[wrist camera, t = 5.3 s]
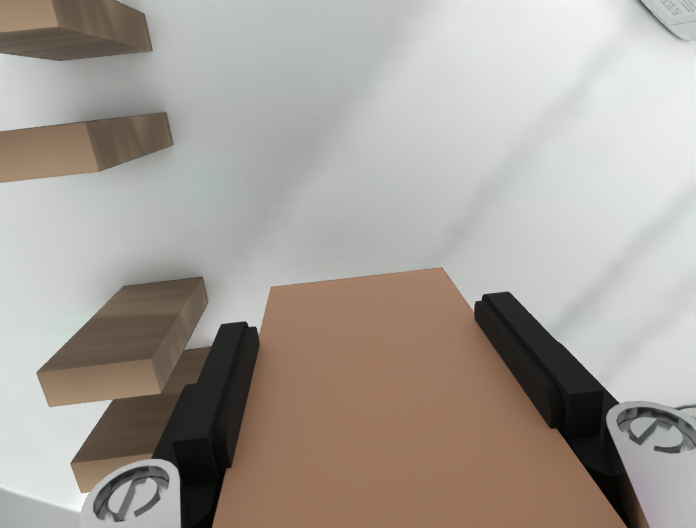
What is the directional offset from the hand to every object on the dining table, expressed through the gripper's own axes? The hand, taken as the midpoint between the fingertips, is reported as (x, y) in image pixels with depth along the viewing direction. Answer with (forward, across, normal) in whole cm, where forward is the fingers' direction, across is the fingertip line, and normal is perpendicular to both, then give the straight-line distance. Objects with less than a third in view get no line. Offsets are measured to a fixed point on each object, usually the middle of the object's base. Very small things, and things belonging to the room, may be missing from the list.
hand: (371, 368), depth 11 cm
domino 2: (+19, +12, -5) cm, 23 cm away
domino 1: (+19, +12, -10) cm, 25 cm away
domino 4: (+19, +12, +10) cm, 25 cm away
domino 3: (+19, +12, +5) cm, 23 cm away
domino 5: (+4, 0, 0) cm, 4 cm away
